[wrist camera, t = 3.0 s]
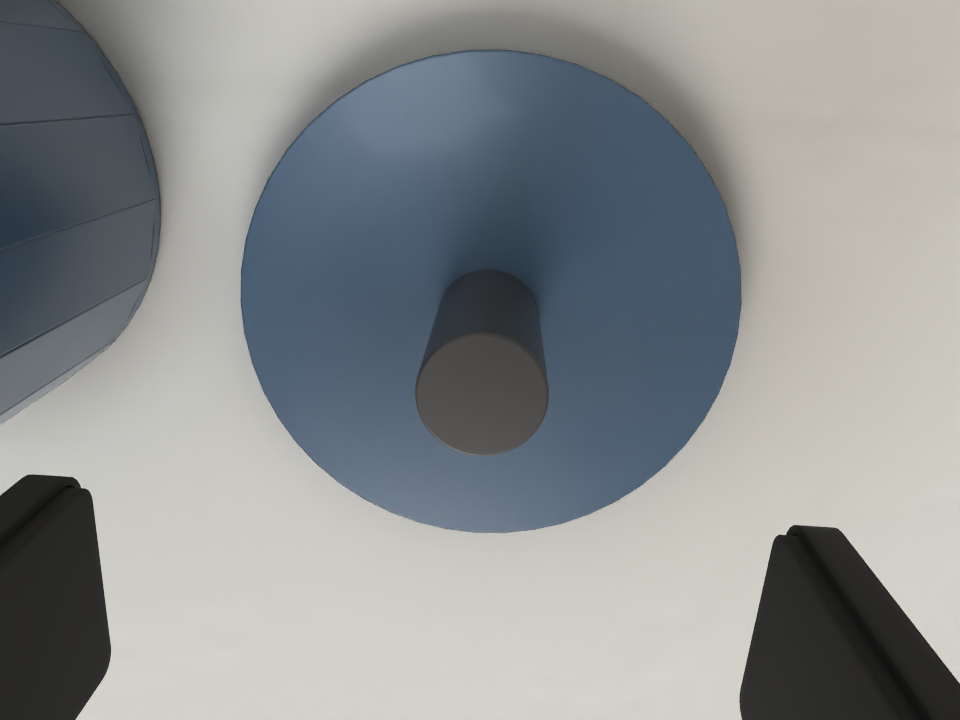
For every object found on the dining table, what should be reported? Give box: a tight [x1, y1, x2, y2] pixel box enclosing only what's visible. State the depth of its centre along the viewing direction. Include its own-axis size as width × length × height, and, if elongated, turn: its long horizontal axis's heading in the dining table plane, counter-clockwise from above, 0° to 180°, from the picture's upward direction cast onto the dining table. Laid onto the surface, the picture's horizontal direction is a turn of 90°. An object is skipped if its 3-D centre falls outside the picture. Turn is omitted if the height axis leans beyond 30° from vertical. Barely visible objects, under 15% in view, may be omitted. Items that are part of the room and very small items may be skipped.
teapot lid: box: [241, 50, 741, 533], centre depth 20 cm, size 15×15×7 cm
